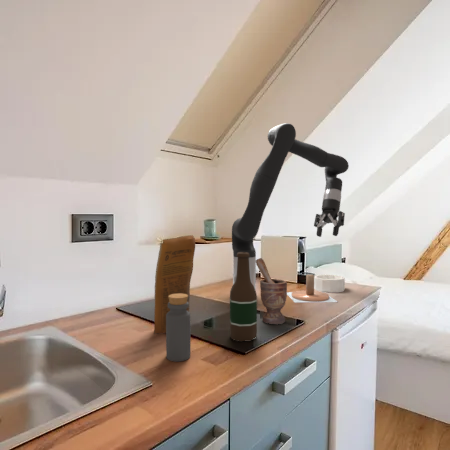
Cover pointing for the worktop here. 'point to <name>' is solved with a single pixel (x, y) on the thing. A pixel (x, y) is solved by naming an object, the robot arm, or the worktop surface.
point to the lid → (310, 292)
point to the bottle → (178, 328)
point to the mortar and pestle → (272, 295)
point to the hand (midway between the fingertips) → (326, 235)
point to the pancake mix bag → (172, 275)
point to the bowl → (329, 283)
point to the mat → (309, 301)
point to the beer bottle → (243, 302)
